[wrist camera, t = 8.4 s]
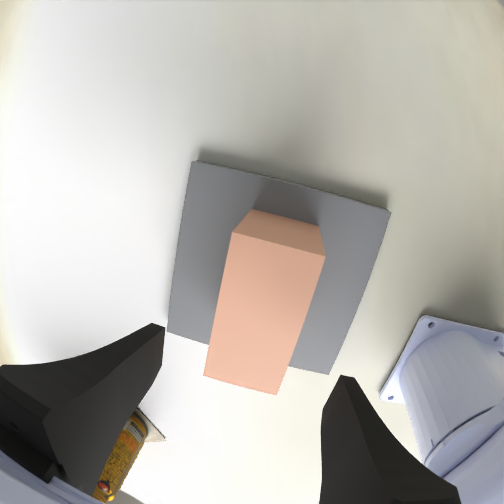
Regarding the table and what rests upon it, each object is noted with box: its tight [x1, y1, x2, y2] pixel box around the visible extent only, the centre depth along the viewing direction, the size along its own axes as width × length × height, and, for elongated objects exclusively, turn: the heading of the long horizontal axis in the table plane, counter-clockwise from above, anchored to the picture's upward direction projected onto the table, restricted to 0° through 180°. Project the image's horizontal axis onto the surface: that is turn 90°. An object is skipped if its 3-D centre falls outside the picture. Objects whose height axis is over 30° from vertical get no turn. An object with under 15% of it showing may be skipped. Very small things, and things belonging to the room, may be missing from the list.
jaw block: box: [203, 209, 326, 395], centre depth 17 cm, size 4×8×6 cm, turn 168°
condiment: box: [92, 408, 166, 504], centre depth 23 cm, size 7×8×12 cm
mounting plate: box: [167, 161, 391, 375], centre depth 20 cm, size 12×12×1 cm
